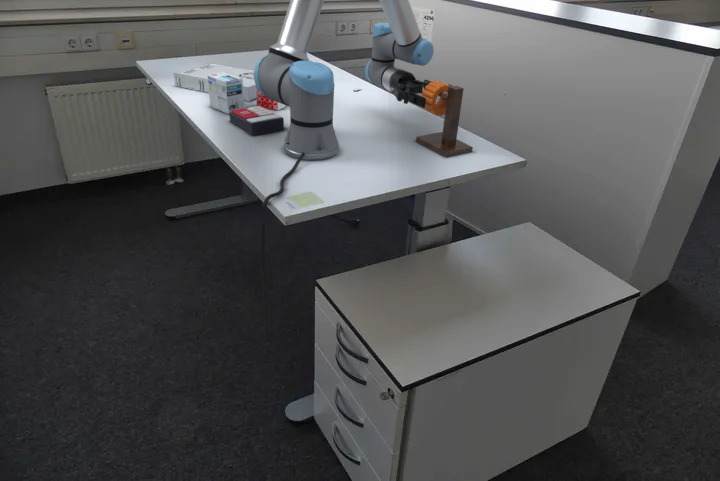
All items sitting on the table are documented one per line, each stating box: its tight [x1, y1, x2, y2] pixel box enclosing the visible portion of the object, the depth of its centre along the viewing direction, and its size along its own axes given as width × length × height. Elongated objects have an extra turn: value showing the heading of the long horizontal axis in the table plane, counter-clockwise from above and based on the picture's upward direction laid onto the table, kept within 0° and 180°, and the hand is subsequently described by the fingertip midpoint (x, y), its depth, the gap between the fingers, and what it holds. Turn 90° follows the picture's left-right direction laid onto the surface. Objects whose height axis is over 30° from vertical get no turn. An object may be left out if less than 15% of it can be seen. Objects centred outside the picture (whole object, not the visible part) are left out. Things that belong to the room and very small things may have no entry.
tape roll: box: [421, 80, 451, 117], centre depth 162 cm, size 9×5×9 cm, turn 122°
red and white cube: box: [256, 86, 287, 111], centre depth 189 cm, size 8×8×8 cm
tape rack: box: [415, 85, 474, 158], centre depth 161 cm, size 16×10×18 cm, turn 32°
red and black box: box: [228, 105, 285, 136], centre depth 172 cm, size 11×4×15 cm
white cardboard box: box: [173, 62, 257, 102], centre depth 206 cm, size 19×33×5 cm, turn 64°
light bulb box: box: [207, 72, 245, 115], centre depth 183 cm, size 11×7×11 cm, turn 47°
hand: (442, 100), depth 161 cm, fingers open, 13 cm apart
